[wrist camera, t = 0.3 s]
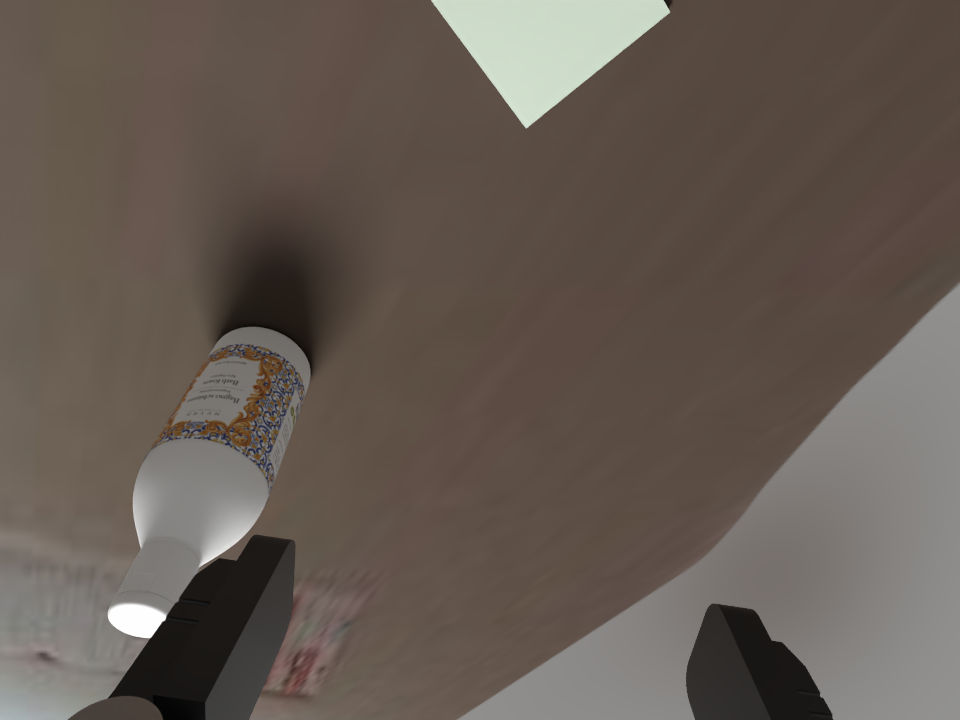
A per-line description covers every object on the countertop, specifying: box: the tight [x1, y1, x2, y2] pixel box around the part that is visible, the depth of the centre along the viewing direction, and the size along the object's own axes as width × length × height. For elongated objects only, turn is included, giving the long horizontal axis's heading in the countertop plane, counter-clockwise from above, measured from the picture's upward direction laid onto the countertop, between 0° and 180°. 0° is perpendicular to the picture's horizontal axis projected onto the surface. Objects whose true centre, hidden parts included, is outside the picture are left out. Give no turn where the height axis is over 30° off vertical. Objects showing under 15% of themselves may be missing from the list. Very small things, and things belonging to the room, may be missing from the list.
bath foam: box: [108, 327, 311, 638], centre depth 36 cm, size 7×7×20 cm
